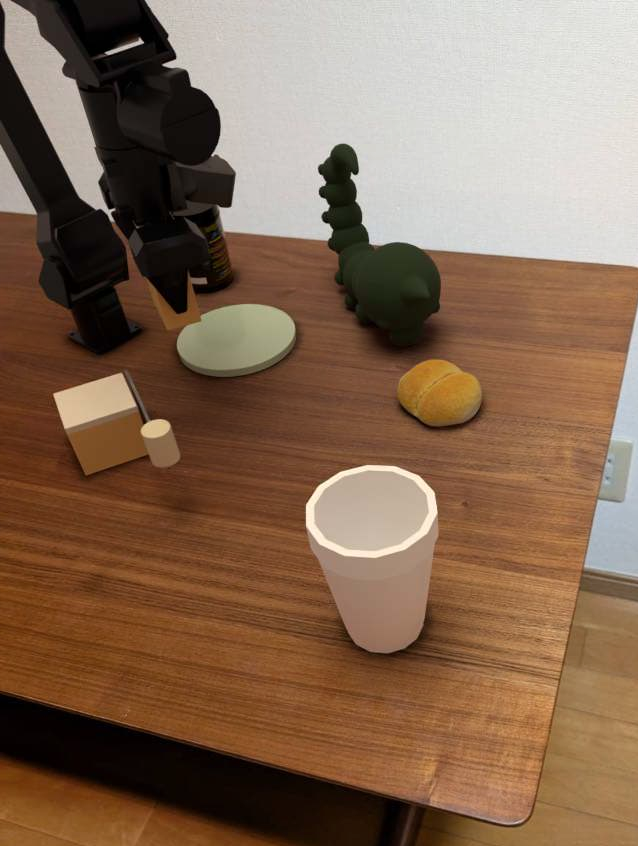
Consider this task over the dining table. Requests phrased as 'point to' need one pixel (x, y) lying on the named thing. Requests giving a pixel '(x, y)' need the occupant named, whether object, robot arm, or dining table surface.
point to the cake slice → (169, 314)
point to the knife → (156, 435)
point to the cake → (102, 423)
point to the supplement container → (209, 247)
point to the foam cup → (376, 551)
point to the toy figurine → (376, 260)
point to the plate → (237, 340)
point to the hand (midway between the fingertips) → (173, 297)
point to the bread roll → (439, 393)
